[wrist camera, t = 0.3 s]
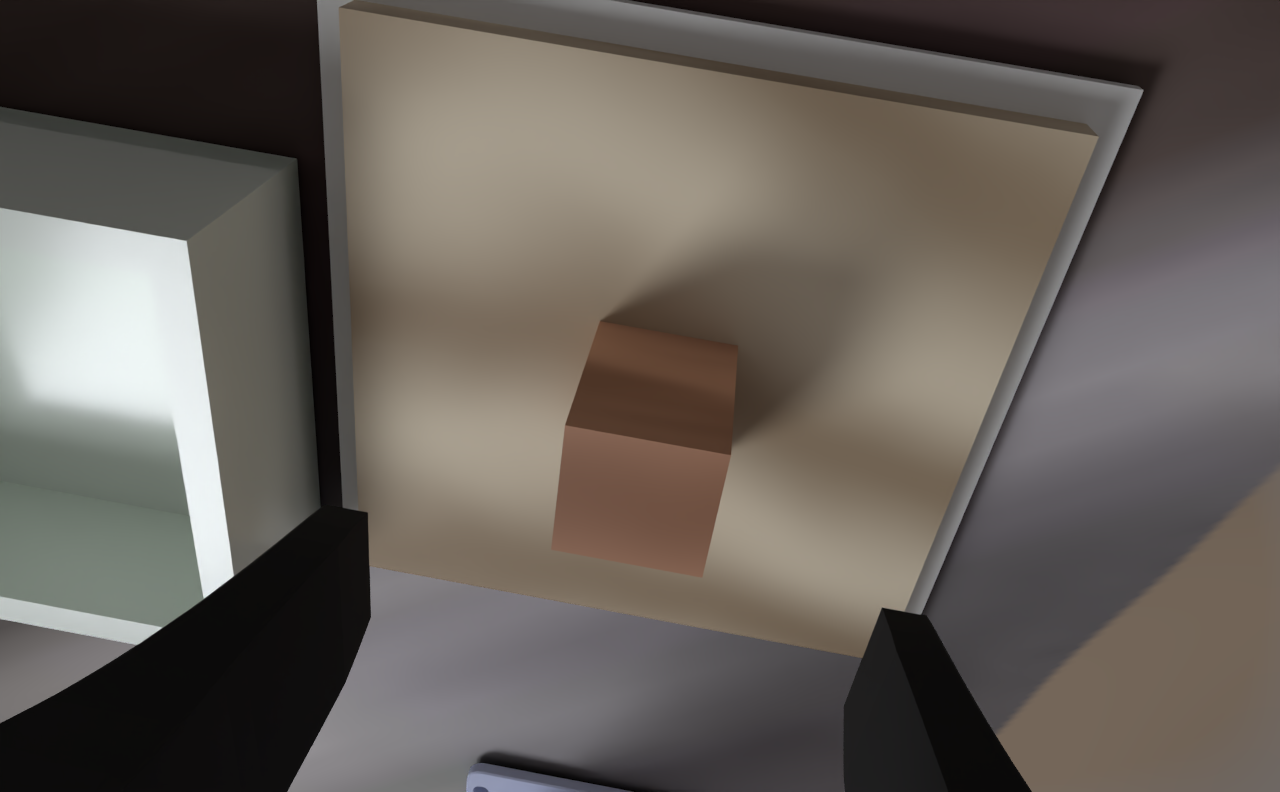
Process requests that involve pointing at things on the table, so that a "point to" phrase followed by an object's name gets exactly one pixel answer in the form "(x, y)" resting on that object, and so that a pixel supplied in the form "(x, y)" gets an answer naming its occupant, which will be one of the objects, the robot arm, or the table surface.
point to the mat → (602, 11)
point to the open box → (145, 372)
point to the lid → (675, 319)
